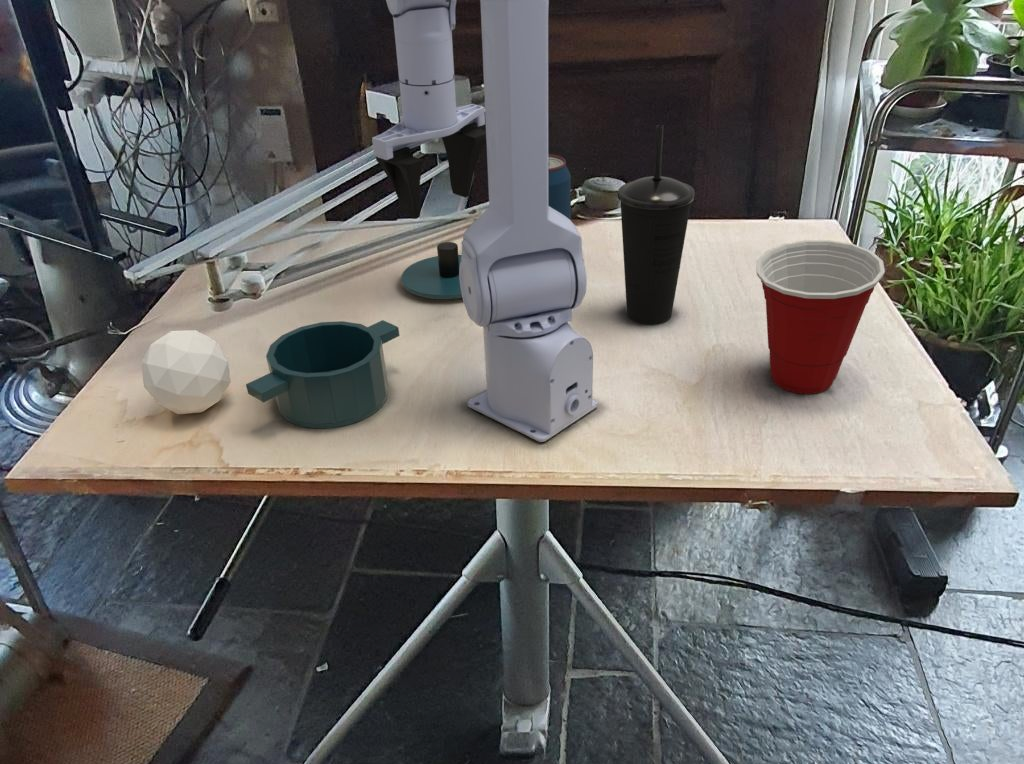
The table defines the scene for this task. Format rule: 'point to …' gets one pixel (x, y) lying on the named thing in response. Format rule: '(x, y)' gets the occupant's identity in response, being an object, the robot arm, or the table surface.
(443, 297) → the lid
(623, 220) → the drinking cup
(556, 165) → the soda can
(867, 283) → the plastic cup
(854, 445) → the table surface
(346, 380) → the pot
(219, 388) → the ball
